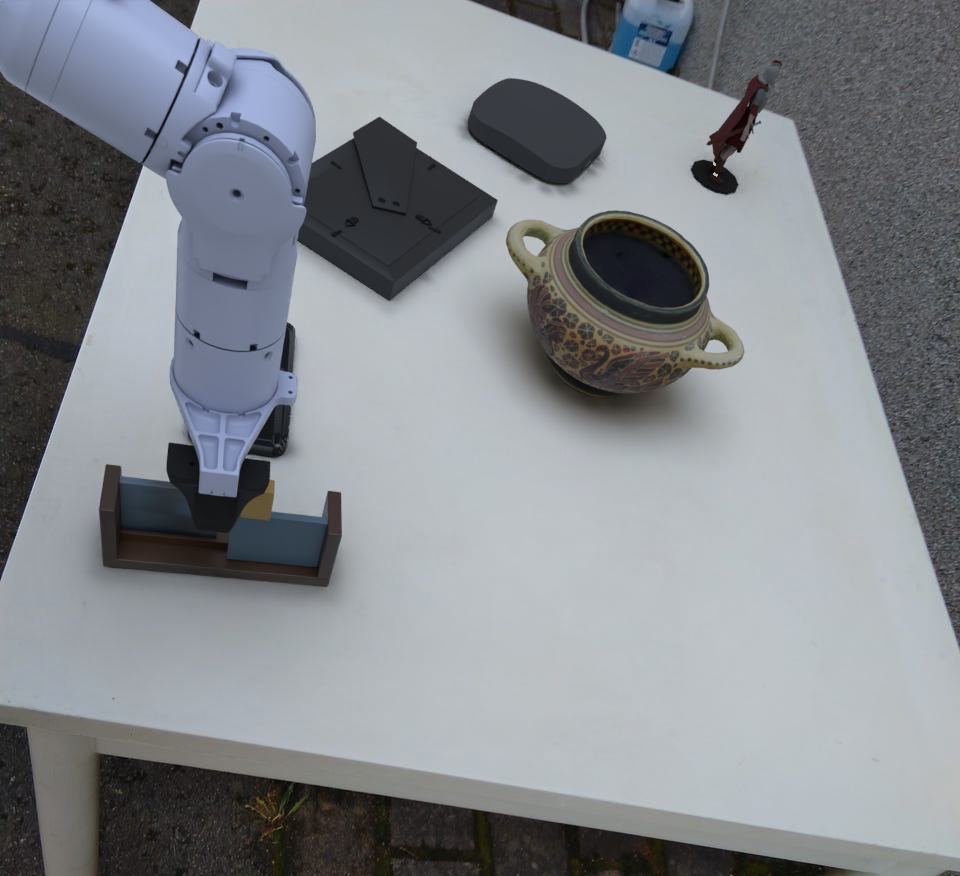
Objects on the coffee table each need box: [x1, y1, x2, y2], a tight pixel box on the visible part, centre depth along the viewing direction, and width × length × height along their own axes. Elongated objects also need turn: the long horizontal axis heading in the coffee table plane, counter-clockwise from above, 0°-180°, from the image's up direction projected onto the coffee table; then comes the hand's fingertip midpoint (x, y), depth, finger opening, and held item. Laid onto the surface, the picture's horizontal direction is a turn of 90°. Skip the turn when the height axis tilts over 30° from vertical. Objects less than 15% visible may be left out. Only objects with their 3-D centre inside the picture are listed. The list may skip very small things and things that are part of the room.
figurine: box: [690, 59, 783, 196], centre depth 114 cm, size 7×7×15 cm
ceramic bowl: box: [505, 209, 745, 398], centre depth 88 cm, size 24×18×15 cm
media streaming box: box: [467, 77, 607, 184], centre depth 111 cm, size 15×15×3 cm
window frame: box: [98, 463, 343, 587], centre depth 67 cm, size 16×4×6 cm, turn 95°
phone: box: [187, 321, 297, 457], centre depth 78 cm, size 8×1×15 cm
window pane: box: [227, 479, 328, 567], centre depth 66 cm, size 7×1×8 cm, turn 95°
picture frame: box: [297, 116, 499, 301], centre depth 95 cm, size 16×3×21 cm
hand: (216, 480), depth 60 cm, fingers open, 7 cm apart
